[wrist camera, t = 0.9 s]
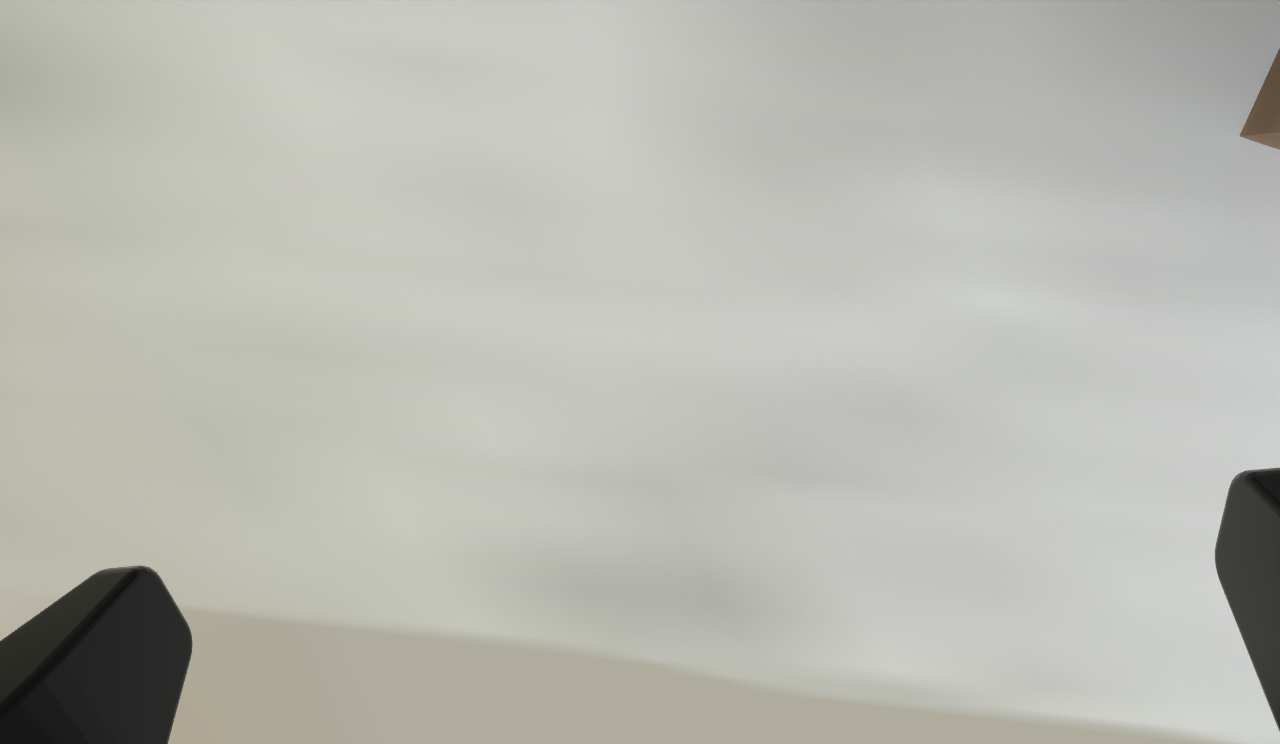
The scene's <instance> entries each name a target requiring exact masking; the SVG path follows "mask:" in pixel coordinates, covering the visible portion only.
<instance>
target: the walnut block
mask: <svg viewBox="0 0 1280 744" xmlns="http://www.w3.org/2000/svg"><path fill="white" fill-rule="evenodd" d="M1240 136H1241V137H1244V138H1247V139H1250V140H1253V141H1256V142H1259V143H1262V144H1265V145H1268V146H1271V147H1274V148H1277V149H1280V49H1279V51H1278V54H1277V56H1276V58H1275V60H1274V62H1273V65H1272V67H1271V69H1270V71H1269V73H1268V76H1267V78H1266V80H1265V82H1264V84H1263V86H1262V89H1261V91H1260V93H1259V95H1258V97H1257V100H1256V102H1255V104H1254V106H1253V108H1252V111H1251V113H1250V115H1249V117H1248V119H1247V122H1246V124H1245V126H1244V128H1243V130H1242V133H1241V135H1240Z"/></svg>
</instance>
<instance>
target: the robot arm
mask: <svg viewBox="0 0 1280 744" xmlns="http://www.w3.org/2000/svg"><path fill="white" fill-rule="evenodd" d="M1215 563H1216V569H1217V573H1218V577H1219V580H1220V583H1221V585H1222V588H1223V590H1224V593H1225V595H1226V598H1227V600H1228V603H1229V605H1230V608H1231V610H1232V613H1233V615H1234V618H1235V620H1236V623H1237V625H1238V628H1239V630H1240V633H1241V635H1242V638H1243V640H1244V643H1245V645H1246V648H1247V650H1248V653H1249V655H1250V658H1251V661H1252V663H1253V666H1254V668H1255V671H1256V673H1257V676H1258V678H1259V681H1260V683H1261V686H1262V688H1263V691H1264V693H1265V696H1266V698H1267V701H1268V703H1269V706H1270V708H1271V711H1272V713H1273V716H1274V718H1275V721H1276V723H1277V726H1278V728H1279V731H1280V468H1271V469H1260V470H1248V471H1244V472H1242V473H1239V474H1238V475H1236V476H1235V478H1234V479H1233V480H1232V482H1231V485H1230V488H1229V491H1228V496H1227V500H1226V504H1225V508H1224V513H1223V517H1222V521H1221V525H1220V530H1219V534H1218V538H1217V542H1216V548H1215ZM191 653H192V635H191V631H190V628H189V626H188V624H187V622H186V620H185V618H184V617H183V615H182V613H181V612H180V610H179V608H178V607H177V605H176V603H175V601H174V600H173V598H172V596H171V595H170V593H169V591H168V590H167V588H166V586H165V585H164V583H163V581H162V579H161V578H160V576H159V575H158V574H157V572H155V571H154V570H152V569H151V568H149V567H145V566H131V567H119V568H109V569H105V570H102V571H99V572H97V573H95V574H94V575H92V576H91V577H89V578H88V579H87V580H85V581H84V582H82V583H81V584H80V585H78V586H77V587H75V588H74V589H73V590H71V591H70V592H68V593H67V594H66V595H64V596H63V597H61V598H60V599H59V600H57V601H56V602H54V603H53V604H52V605H50V606H49V607H48V608H46V609H45V610H43V611H42V612H40V613H39V614H38V615H36V616H35V617H33V618H32V619H31V620H30V621H28V622H27V623H25V624H24V625H22V626H21V627H19V628H18V629H17V630H15V631H14V632H12V633H11V634H10V635H8V636H7V637H5V638H4V639H3V640H1V641H0V744H168V740H169V736H170V732H171V729H172V725H173V722H174V718H175V714H176V710H177V707H178V703H179V699H180V696H181V692H182V688H183V685H184V681H185V677H186V673H187V669H188V666H189V662H190V658H191Z"/></svg>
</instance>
